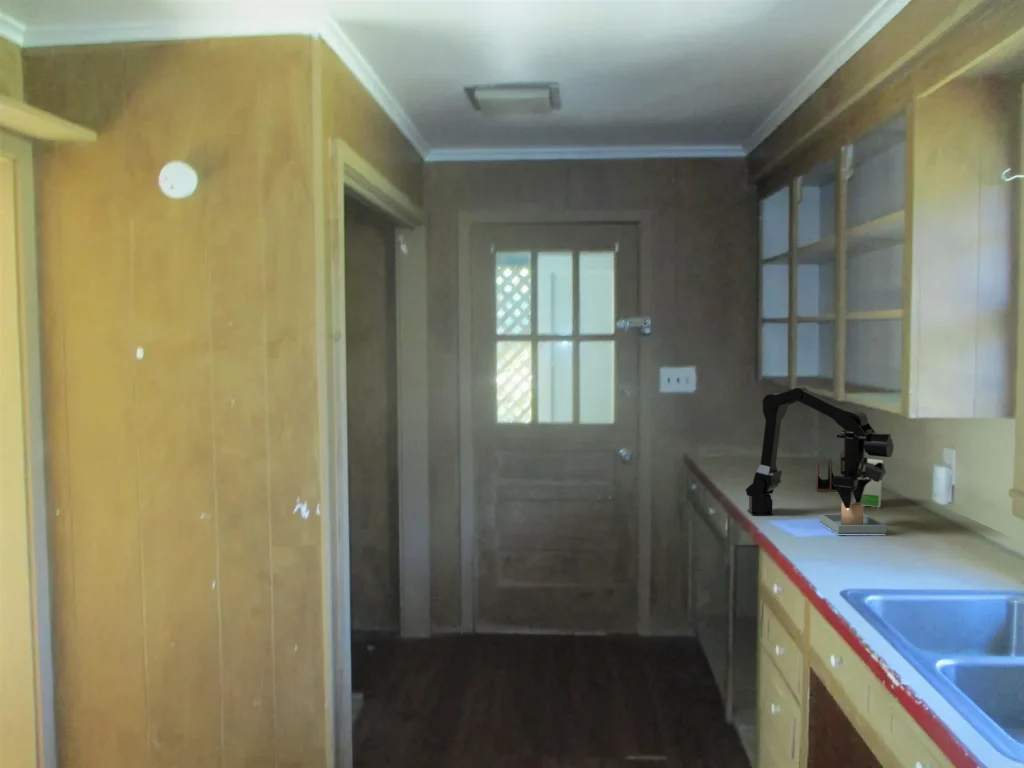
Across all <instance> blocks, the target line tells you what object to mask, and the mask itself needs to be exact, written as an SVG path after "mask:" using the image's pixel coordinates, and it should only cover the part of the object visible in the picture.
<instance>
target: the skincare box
mask: <svg viewBox="0 0 1024 768" xmlns="http://www.w3.org/2000/svg"><path fill="white" fill-rule="evenodd" d="M867 459H868V463H870V464H874V465H876V464H877V463H879V462H880V463H882V464H884V460H883V459H882V460H881V459H876V458H875V459H874V458H867ZM867 479H869V478H868V477H867ZM882 489H883V479H882V480H880V481H879V482H876V481H873V480H872V481H870V482H869V483H868V484H866V486H865V489H864V492H863V495H862V498H861V501H860V502H861V503H863V507H865V506H877V507H880V508H881V504H882V503H881V502H882V492H883V491H882ZM853 498H854V497H853ZM853 501H855V498H854V500H853ZM855 502H856V501H855Z"/></svg>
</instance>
